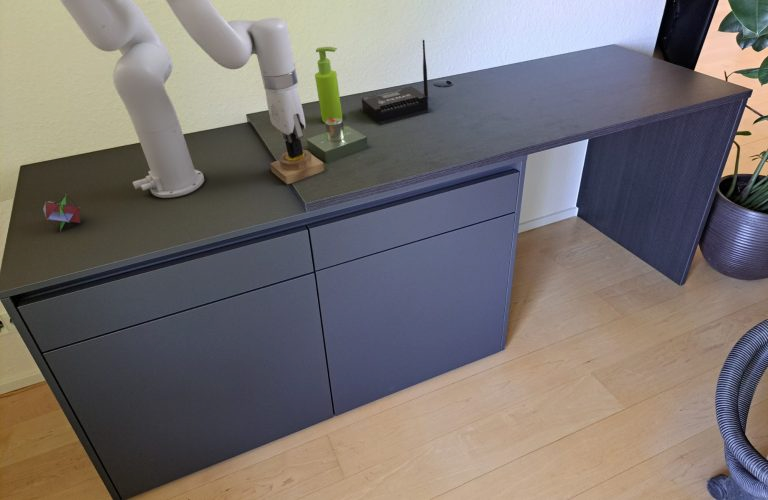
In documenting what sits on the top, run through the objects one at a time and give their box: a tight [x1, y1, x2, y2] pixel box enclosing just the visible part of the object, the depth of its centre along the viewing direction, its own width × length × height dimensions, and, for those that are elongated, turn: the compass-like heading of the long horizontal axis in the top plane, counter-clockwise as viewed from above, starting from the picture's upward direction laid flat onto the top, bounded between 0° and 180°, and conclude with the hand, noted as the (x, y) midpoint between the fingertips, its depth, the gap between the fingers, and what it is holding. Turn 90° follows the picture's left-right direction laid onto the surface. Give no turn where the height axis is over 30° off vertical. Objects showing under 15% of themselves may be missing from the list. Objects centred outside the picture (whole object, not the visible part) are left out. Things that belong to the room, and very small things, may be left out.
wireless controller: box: [360, 39, 431, 126], centre depth 156 cm, size 20×14×17 cm
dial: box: [324, 117, 345, 141], centre depth 140 cm, size 4×4×5 cm
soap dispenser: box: [314, 46, 343, 123], centre depth 154 cm, size 6×7×20 cm
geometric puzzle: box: [42, 194, 81, 232], centre depth 122 cm, size 7×7×8 cm
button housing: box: [269, 148, 325, 185], centre depth 134 cm, size 10×9×4 cm
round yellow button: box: [285, 153, 305, 161], centre depth 133 cm, size 5×5×2 cm
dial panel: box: [306, 125, 369, 163], centre depth 142 cm, size 12×10×3 cm
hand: (295, 155), depth 132 cm, fingers closed
